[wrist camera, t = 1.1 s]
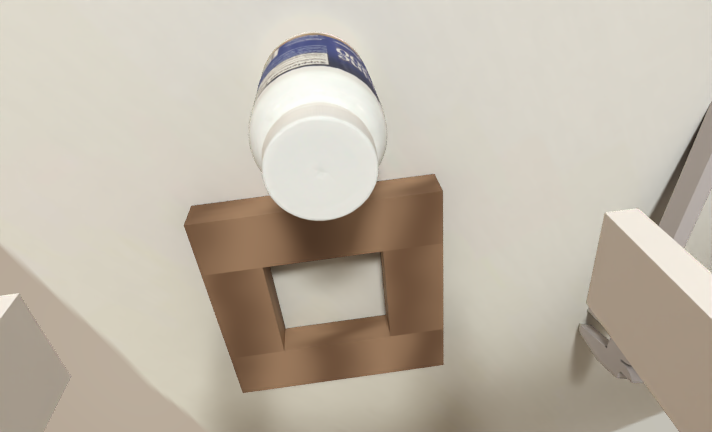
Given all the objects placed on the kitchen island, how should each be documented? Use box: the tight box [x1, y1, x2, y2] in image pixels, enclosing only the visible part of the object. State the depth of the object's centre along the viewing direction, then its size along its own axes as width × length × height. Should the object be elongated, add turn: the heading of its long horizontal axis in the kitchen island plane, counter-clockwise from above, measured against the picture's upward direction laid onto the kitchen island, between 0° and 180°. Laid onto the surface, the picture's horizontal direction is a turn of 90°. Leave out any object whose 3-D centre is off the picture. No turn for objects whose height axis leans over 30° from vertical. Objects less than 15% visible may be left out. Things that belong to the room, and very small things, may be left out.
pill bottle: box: [249, 32, 387, 221], centre depth 20 cm, size 5×5×10 cm
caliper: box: [579, 102, 712, 383], centre depth 29 cm, size 20×1×6 cm, turn 169°
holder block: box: [184, 174, 443, 393], centre depth 31 cm, size 14×14×2 cm
